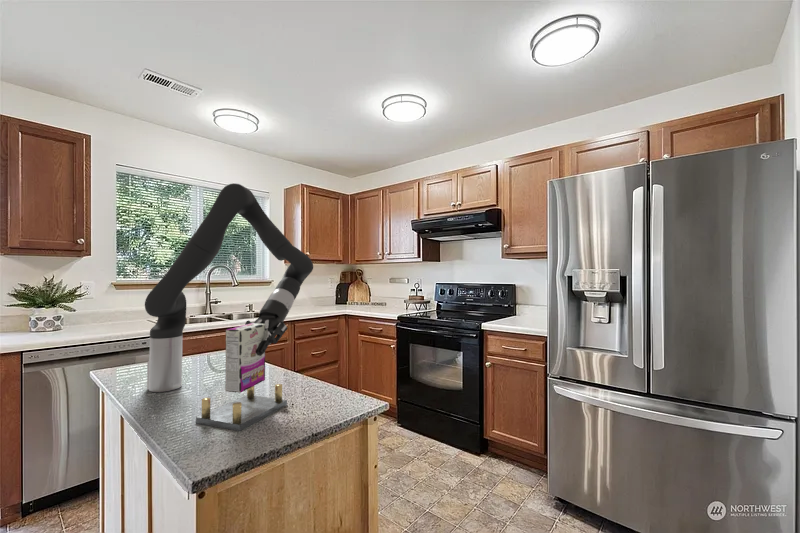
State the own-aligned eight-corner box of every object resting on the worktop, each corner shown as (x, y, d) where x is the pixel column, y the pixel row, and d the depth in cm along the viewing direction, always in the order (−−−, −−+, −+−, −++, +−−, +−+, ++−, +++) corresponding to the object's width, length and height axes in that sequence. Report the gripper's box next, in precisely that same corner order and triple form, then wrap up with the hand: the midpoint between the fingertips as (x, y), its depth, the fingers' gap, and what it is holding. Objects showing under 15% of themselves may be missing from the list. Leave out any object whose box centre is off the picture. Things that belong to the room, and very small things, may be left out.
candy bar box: (250, 379, 105) (251, 322, 105) (265, 380, 104) (266, 323, 104) (223, 391, 94) (224, 328, 94) (240, 393, 93) (241, 329, 93)
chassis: (195, 423, 92) (196, 399, 92) (248, 399, 110) (248, 379, 110) (239, 431, 88) (239, 406, 88) (286, 405, 105) (287, 384, 105)
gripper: (252, 298, 112) (222, 344, 101) (292, 299, 107) (264, 347, 96) (264, 313, 117) (236, 358, 106) (302, 314, 112) (277, 362, 101)
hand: (249, 353), depth 101 cm, fingers closed on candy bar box, 5 cm apart
